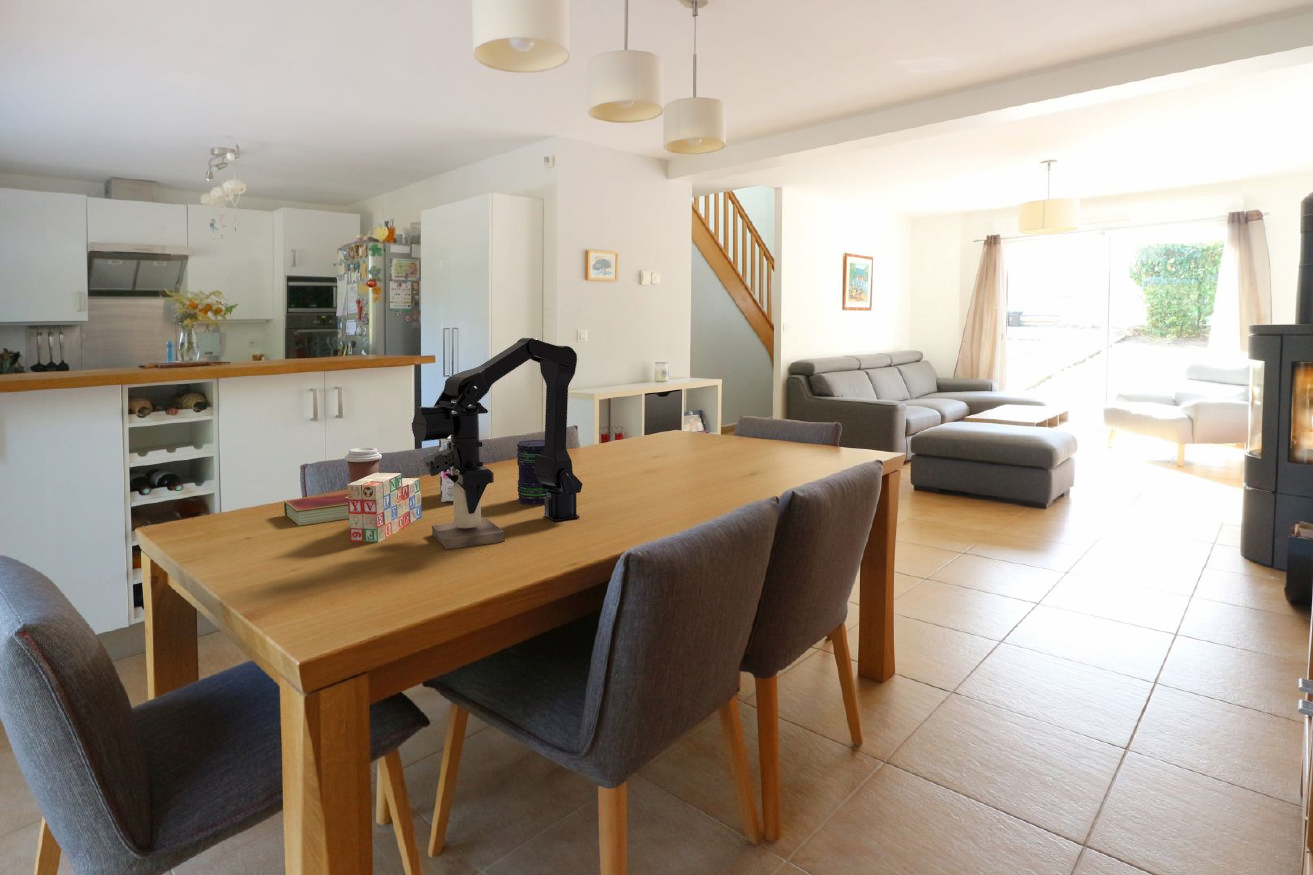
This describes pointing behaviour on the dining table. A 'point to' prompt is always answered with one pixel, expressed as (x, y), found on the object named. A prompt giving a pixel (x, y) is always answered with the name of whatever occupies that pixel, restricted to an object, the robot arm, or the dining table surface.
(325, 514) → the hardcover book
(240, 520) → the dining table surface
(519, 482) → the storage jar
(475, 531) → the grey square slab
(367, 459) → the coffee cup
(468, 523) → the candle
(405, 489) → the stack of blocks
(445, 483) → the candy box
